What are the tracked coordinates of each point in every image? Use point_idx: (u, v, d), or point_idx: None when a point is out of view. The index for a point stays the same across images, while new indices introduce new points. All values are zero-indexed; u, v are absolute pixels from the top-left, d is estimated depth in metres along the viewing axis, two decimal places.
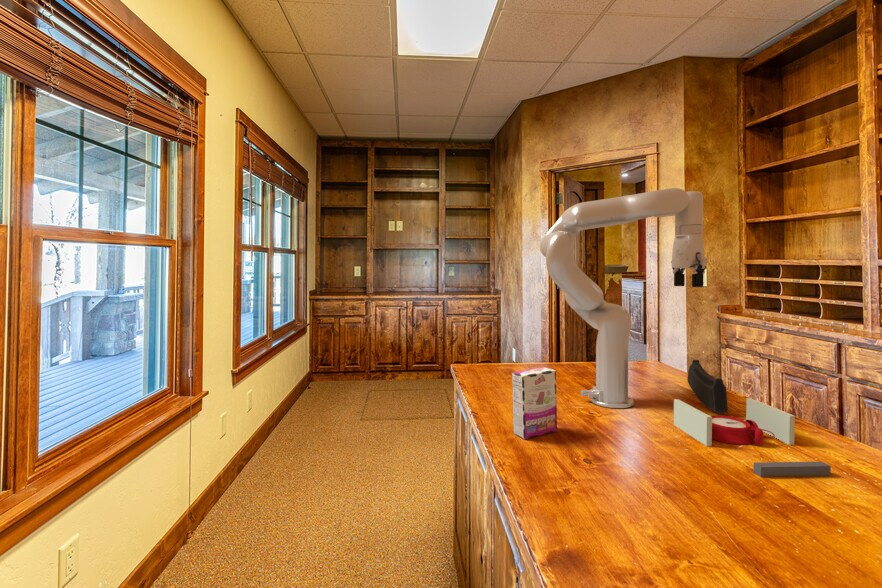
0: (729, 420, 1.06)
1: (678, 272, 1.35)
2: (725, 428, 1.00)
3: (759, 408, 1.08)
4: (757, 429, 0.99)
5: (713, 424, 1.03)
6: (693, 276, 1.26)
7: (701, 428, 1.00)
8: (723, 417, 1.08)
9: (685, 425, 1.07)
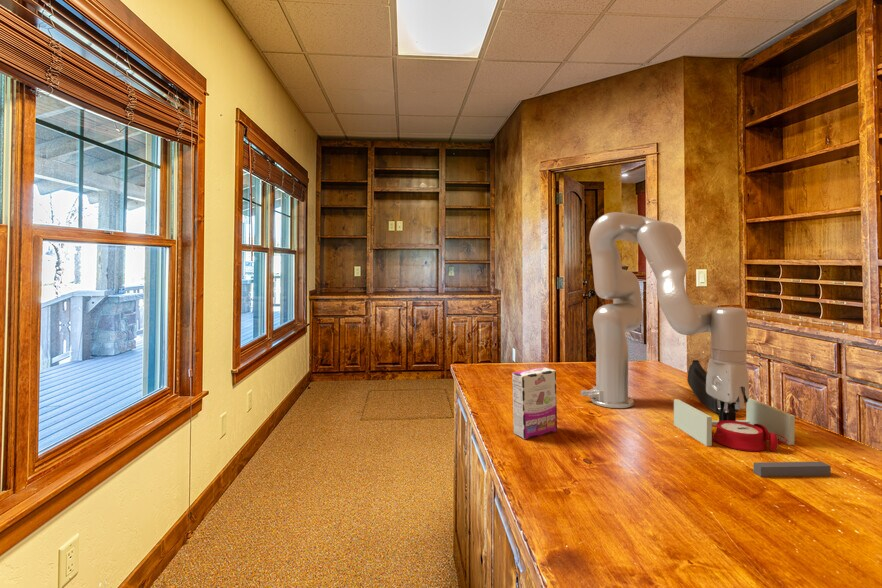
0: (738, 425, 1.02)
1: None
2: (741, 434, 0.96)
3: (759, 408, 1.08)
4: (772, 434, 0.95)
5: (727, 431, 0.98)
6: (723, 415, 1.06)
7: (701, 428, 1.00)
8: (731, 422, 1.04)
9: (685, 425, 1.07)
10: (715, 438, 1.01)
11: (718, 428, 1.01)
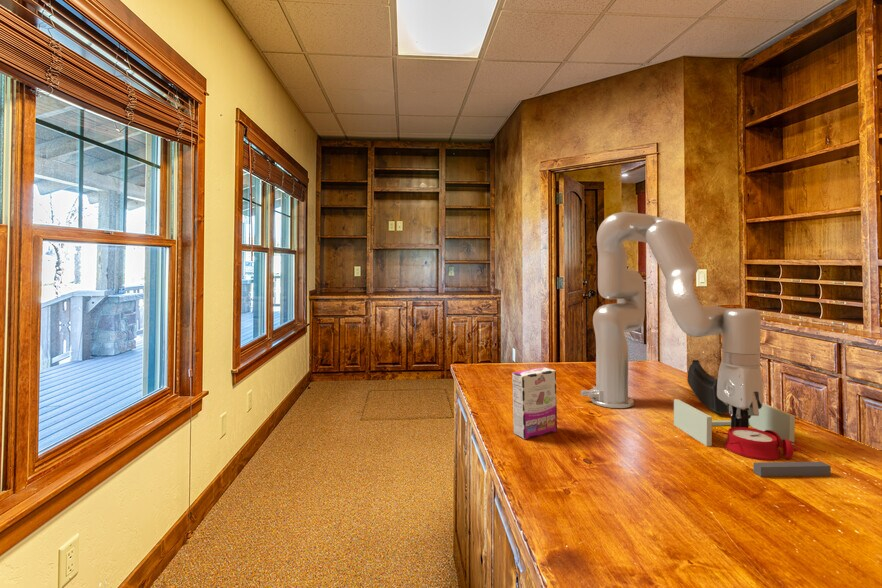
0: (750, 432, 0.98)
1: (736, 411, 1.02)
2: (756, 442, 0.92)
3: None
4: (787, 441, 0.91)
5: (741, 439, 0.94)
6: (736, 421, 1.01)
7: (701, 428, 1.00)
8: (742, 429, 1.00)
9: (685, 425, 1.07)
10: (727, 446, 0.97)
11: (730, 436, 0.96)
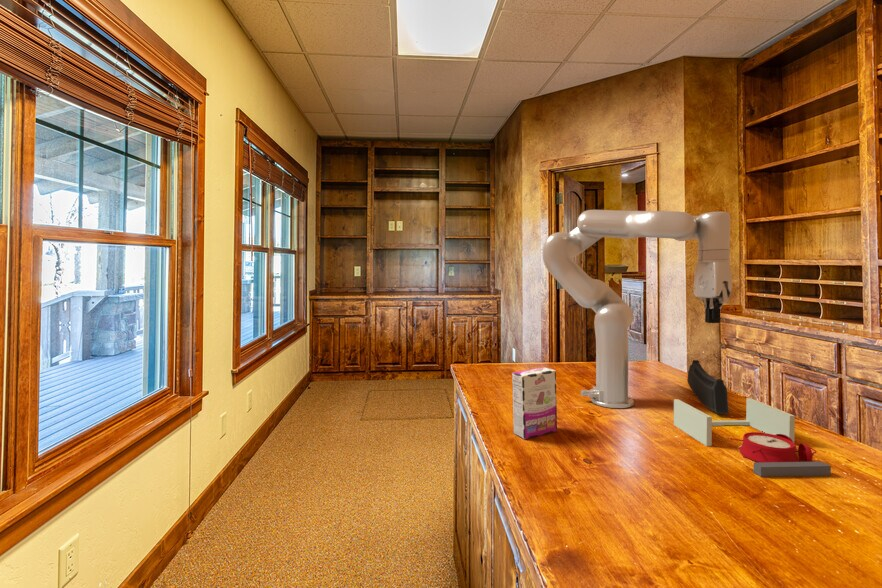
0: (764, 437, 0.95)
1: (710, 304, 1.17)
2: (779, 449, 0.88)
3: (759, 408, 1.08)
4: (806, 446, 0.89)
5: (762, 446, 0.89)
6: (709, 311, 1.15)
7: (701, 428, 1.00)
8: (754, 434, 0.96)
9: (685, 425, 1.07)
10: (746, 454, 0.92)
11: (749, 443, 0.92)
